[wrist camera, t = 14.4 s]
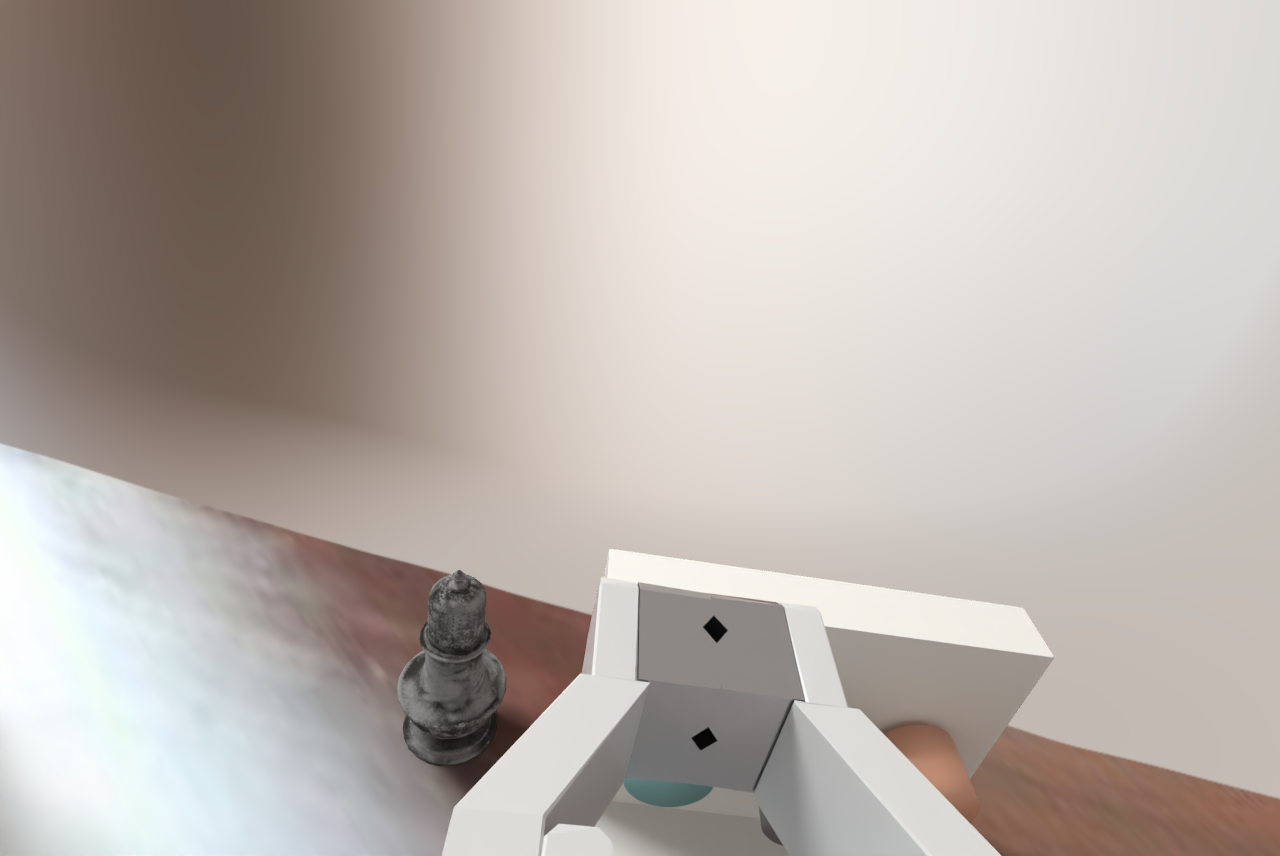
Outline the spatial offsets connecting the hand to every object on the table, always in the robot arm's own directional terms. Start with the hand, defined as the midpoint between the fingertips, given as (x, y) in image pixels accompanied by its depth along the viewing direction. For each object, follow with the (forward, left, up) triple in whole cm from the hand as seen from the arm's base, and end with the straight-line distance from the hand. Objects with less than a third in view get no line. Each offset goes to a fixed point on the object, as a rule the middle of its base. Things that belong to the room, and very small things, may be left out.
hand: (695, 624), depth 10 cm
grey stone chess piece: (-7, +19, -30) cm, 36 cm away
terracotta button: (+16, +13, -23) cm, 31 cm away
